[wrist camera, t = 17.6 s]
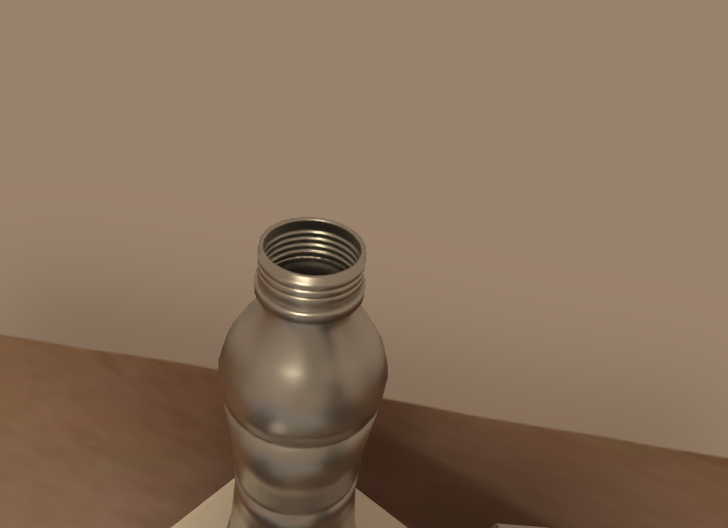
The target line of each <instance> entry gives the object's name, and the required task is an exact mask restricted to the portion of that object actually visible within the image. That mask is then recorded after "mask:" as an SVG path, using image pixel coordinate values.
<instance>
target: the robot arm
mask: <svg viewBox="0 0 728 528" xmlns="http://www.w3.org/2000/svg"><path fill="white" fill-rule="evenodd" d="M492 528H546V527H534V526H521V525H509V524H495V525H494V526H492Z"/></svg>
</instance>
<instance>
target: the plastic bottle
mask: <svg viewBox="0 0 728 528" xmlns="http://www.w3.org/2000/svg"><path fill="white" fill-rule="evenodd" d="M365 262H366V248H365V244H364V242H363V240H362V239H361V237H360V236H359V235H358V234H357V233H356V232H355V231H353V230H352V229H350V228H349V227H347V226H345V225H343V224H341V223H338V222H335V221H332V220H327V219H323V218H314V217H301V218H292V219H288V220H284V221H281V222H279V223H276V224H274V225H273V226H271V227H269V228H268V229H267V230H266V231H265V232H264V234H263V235H262V236H261V238H260V241H259V246H258V268H257V269H256V273H255V279H254V282H255V283H254V287H255V295H256V299H255V300H254V301H252V302H251V303H250V304H249V305H248V307H247V308H246V309H245V310H244V311H243V312H242V313H241V315H240V316H239V317H238V318H237V319H236V320H235V322H234V323H233V325H232V326H231V328H230V330H229V331H228V334H227V336H226V339H225V342H224V345H223V348H222V351H221V354H220V357H219V367H218V374H219V382H220V390H221V394H222V399H223V403H224V408H225V412H226V417H227V421H228V426H229V430H230V435H231V440H232V451H233V463H234V475H235V485H234V494H233V503H232V511H231V515H230V518H229V521H228V525H227V528H356V523H355V487H356V483H357V478H358V474H359V469H360V465H361V461H362V456H363V452H364V448H365V445H366V442H367V440H368V437H369V434H370V431H371V429H372V426H373V423H374V420H375V418H376V415H377V412H378V409H379V407H380V404H381V401H382V397H383V393H384V389H385V385H386V381H387V378H388V365H387V360H386V355H385V350H384V346H383V342H382V338H381V336H380V334H379V332H378V331H377V329H376V327H375V325H374V324H373V322H372V320H371V319H370V318H369V316H368V314H367V312H366V311H365V310H364V309H363V308H362V306H361V303H362V300H363V298H364V291H365V278H364V269H365Z"/></svg>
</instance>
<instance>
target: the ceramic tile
mask: <svg viewBox="0 0 728 528" xmlns="http://www.w3.org/2000/svg"><path fill="white" fill-rule="evenodd" d="M234 485H235V478H234V479H232V480H231V481H230V482H229V483H227V484H226V485H225V486H224V487H222V488H221V489H220V490H218V491H217V492H216V493H215V494H213V495H212V496H211V497H210V498H208V499H207V500H206V501H204V502H203V503H202V504H201V505H199V506H198V507H197V508H196V509H194V510H193V511H192V512H190V513H189V514H188V515H187V516H185V517H184V518H183V519H182V520H180V521H179V522H178V523H176V524H175V525H174V526H173V527H171V528H227V525H228V521H229V518H230V515H231V511H232V503H233V494H234ZM355 523H356V528H407V527H406V526H405V525H403V524H402V523H401V522H399V521H398V520H397V519H395V518H394V517H393V516H392V515H390V514H389V513H388V512H386V511H385V510H384V509H382V508H381V507H380V506H379V505H377V504H376V503H375V502H373V501H372V500H371V499H369V498H368V497H367V496H366V495H364V494H363V493H362V492H360V491H359V490H358V489H356V488H355Z"/></svg>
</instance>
